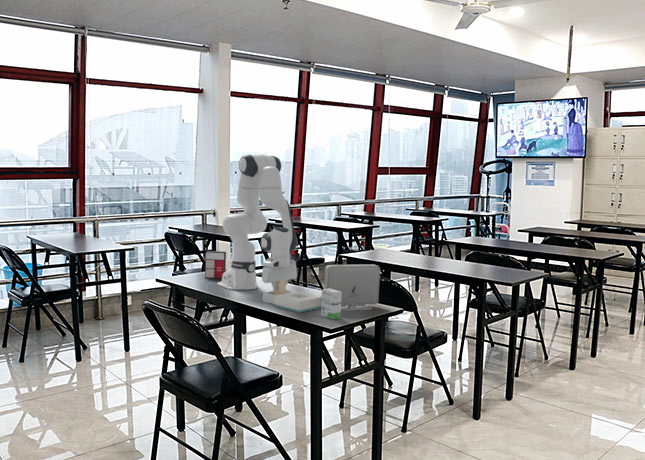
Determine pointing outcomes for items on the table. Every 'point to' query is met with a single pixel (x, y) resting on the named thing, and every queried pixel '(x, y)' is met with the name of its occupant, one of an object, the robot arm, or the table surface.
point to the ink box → (331, 303)
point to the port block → (298, 301)
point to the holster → (272, 296)
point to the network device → (354, 284)
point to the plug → (280, 287)
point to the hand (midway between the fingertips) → (279, 289)
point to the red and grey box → (215, 264)
